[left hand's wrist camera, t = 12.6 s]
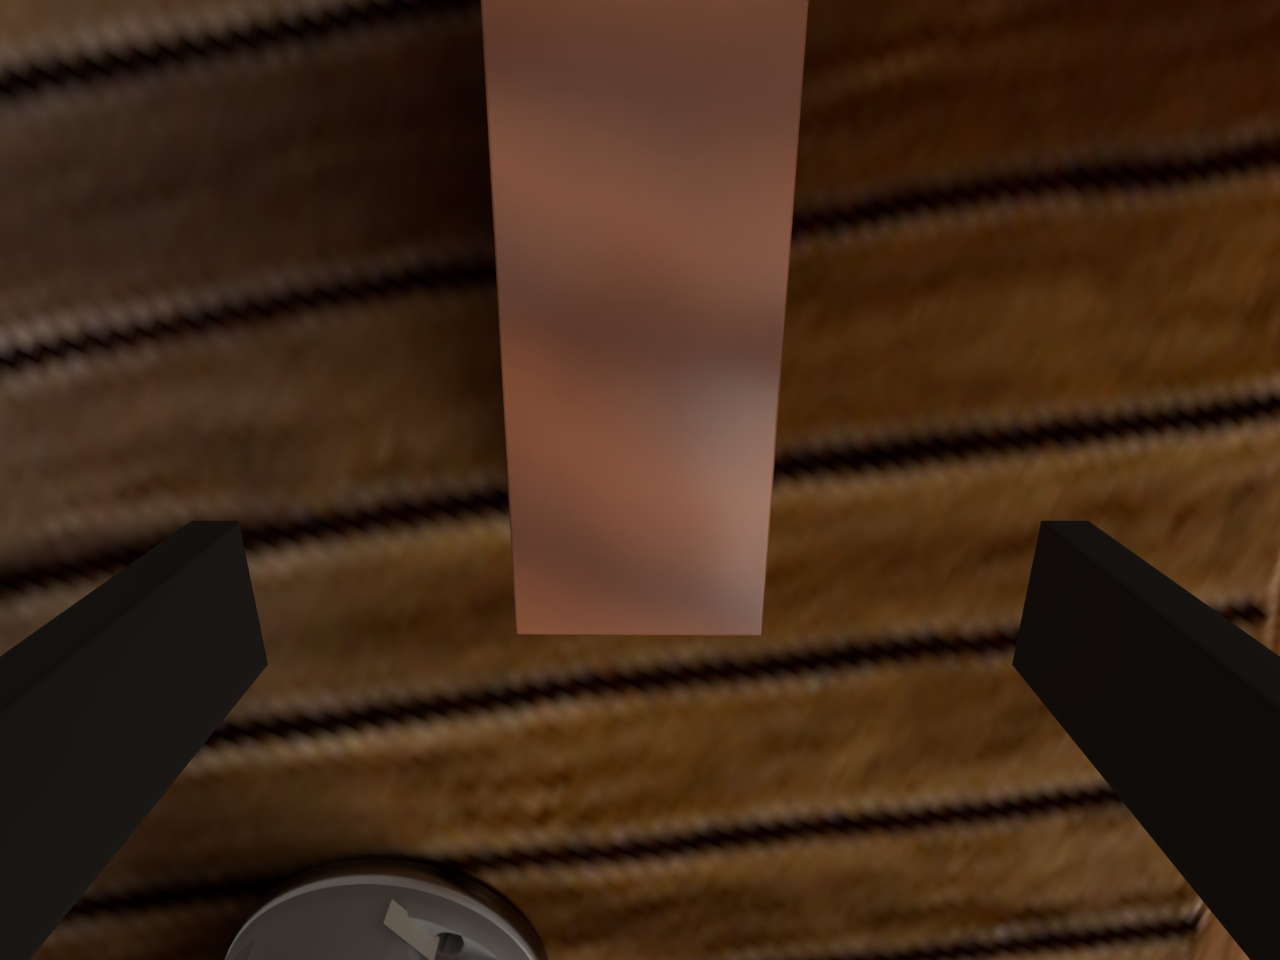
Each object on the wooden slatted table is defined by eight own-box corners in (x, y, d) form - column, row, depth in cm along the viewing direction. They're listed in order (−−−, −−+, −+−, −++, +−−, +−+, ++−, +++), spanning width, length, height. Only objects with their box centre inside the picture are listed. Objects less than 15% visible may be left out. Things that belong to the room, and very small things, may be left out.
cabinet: (532, -12, 22) (472, -134, 14) (754, -10, 22) (819, -131, 14) (551, 511, 28) (516, 635, 20) (727, 513, 28) (762, 636, 20)
